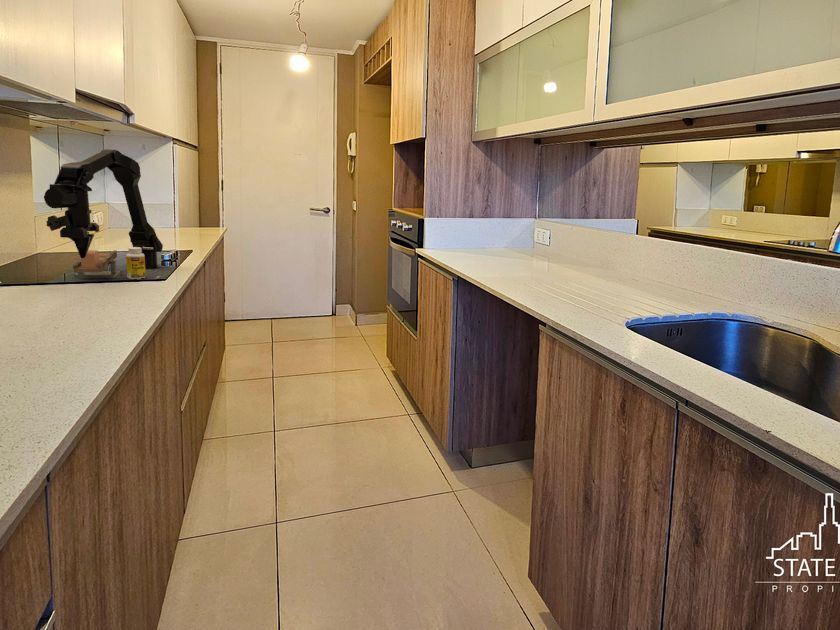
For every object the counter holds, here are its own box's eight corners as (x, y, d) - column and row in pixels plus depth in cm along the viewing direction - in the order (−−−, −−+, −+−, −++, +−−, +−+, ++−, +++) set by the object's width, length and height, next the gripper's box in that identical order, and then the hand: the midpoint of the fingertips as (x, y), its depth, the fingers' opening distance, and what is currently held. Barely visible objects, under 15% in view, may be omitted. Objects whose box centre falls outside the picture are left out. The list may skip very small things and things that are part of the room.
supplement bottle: (130, 280, 192) (128, 249, 190) (125, 277, 196) (122, 247, 194) (148, 279, 196) (146, 248, 194) (142, 276, 200) (140, 246, 198)
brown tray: (92, 256, 206) (91, 249, 205) (117, 256, 208) (116, 250, 207) (73, 272, 186) (72, 265, 185) (101, 272, 188) (100, 265, 187)
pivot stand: (81, 273, 200) (79, 259, 199) (119, 273, 203) (118, 259, 202) (74, 277, 192) (72, 262, 191) (114, 277, 195) (113, 262, 194)
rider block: (86, 263, 192) (84, 250, 190) (99, 263, 193) (98, 250, 191) (81, 267, 187) (80, 253, 186) (95, 267, 188) (94, 253, 187)
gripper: (58, 204, 185) (63, 253, 188) (37, 208, 167) (43, 262, 171) (97, 205, 188) (101, 253, 191) (80, 209, 170) (85, 262, 174)
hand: (83, 257), depth 182 cm, fingers closed
